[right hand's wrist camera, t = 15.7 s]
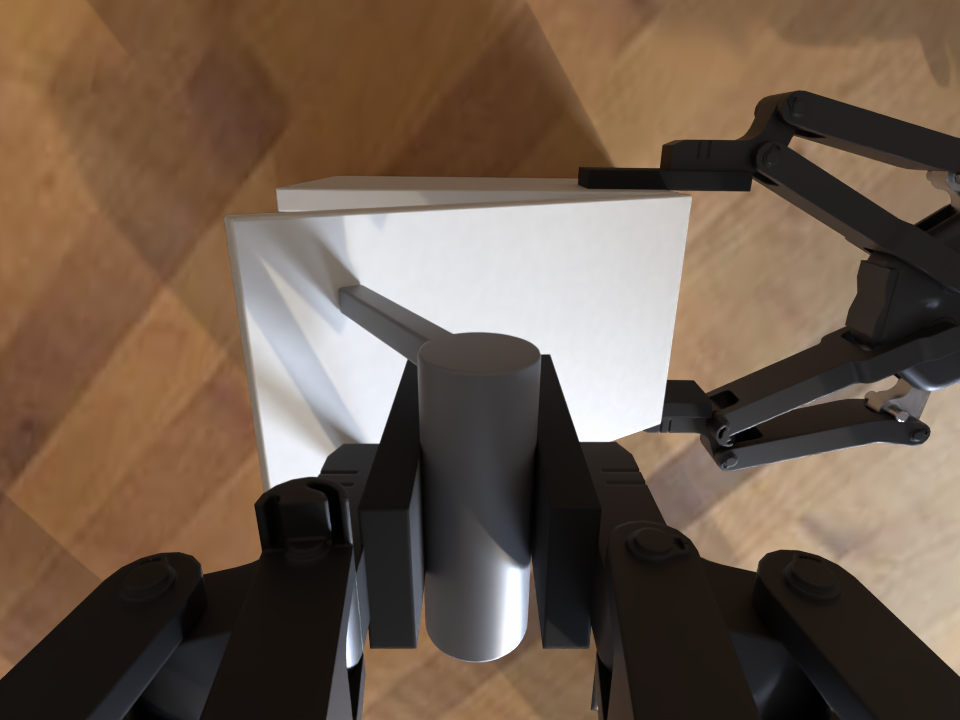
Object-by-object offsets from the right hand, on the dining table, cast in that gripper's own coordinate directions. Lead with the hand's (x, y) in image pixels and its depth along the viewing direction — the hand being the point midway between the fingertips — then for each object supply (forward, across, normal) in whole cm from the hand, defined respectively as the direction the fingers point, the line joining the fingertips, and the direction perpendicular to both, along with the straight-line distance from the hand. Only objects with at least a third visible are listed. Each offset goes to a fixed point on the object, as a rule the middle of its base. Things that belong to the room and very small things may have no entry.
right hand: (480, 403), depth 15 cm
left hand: (+12, -4, 0) cm, 12 cm away
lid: (+5, -1, 0) cm, 5 cm away
